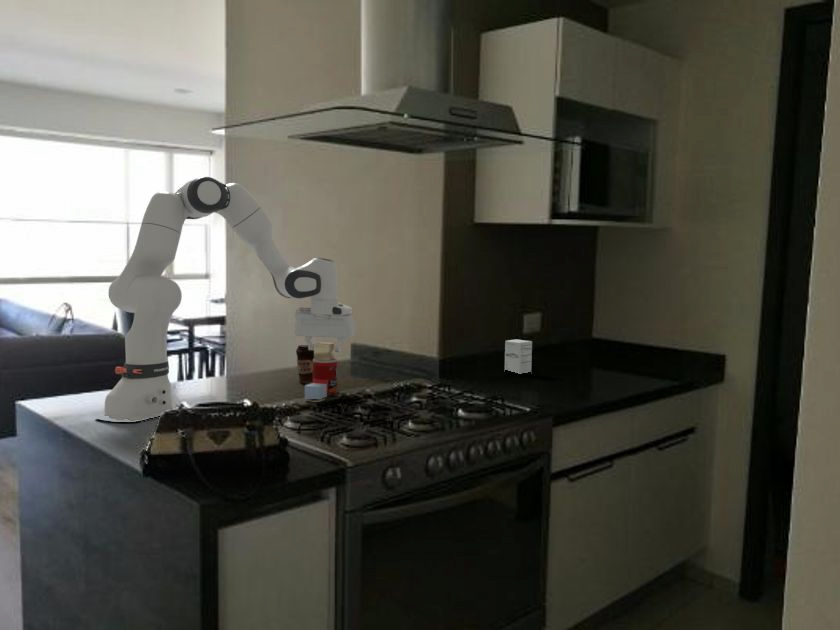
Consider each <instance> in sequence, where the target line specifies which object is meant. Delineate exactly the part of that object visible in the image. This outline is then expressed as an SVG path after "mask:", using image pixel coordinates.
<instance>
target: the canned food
mask: <svg viewBox="0 0 840 630" xmlns="http://www.w3.org/2000/svg"><path fill="white" fill-rule="evenodd" d="M313 383H318V384H327V395H332V394H331V393H334V394H336V393H337V391H338V359H337V358H336V357H335V358H334V359H331V360H314V359H313Z"/></svg>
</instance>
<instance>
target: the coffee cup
mask: <svg viewBox="0 0 840 630" xmlns="http://www.w3.org/2000/svg"><path fill="white" fill-rule="evenodd" d="M295 351H296V365H297V373H298V381H299V383H300V384H311V383H313V359H314V350H308V344H304V345H303V344H300V345H298V346H297V348H296V350H295Z"/></svg>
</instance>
